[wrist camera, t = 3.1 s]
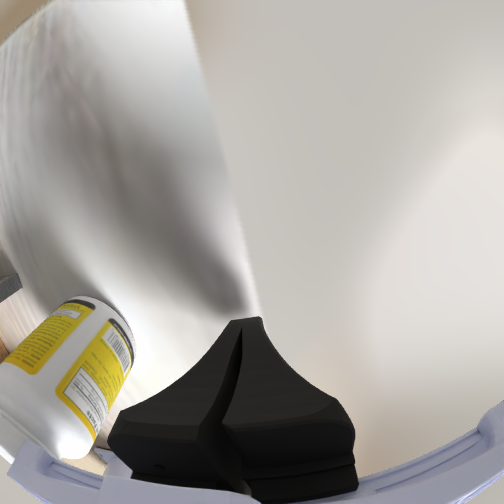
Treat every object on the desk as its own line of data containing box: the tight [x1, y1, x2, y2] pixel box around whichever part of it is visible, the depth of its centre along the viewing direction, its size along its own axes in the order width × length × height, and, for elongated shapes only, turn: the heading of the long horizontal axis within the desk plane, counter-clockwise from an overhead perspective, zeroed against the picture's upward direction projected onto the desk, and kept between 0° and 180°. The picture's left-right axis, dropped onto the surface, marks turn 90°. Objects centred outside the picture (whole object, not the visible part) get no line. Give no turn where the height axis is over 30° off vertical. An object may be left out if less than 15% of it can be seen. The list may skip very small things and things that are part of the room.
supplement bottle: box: [0, 296, 136, 464], centre depth 9 cm, size 5×5×10 cm
